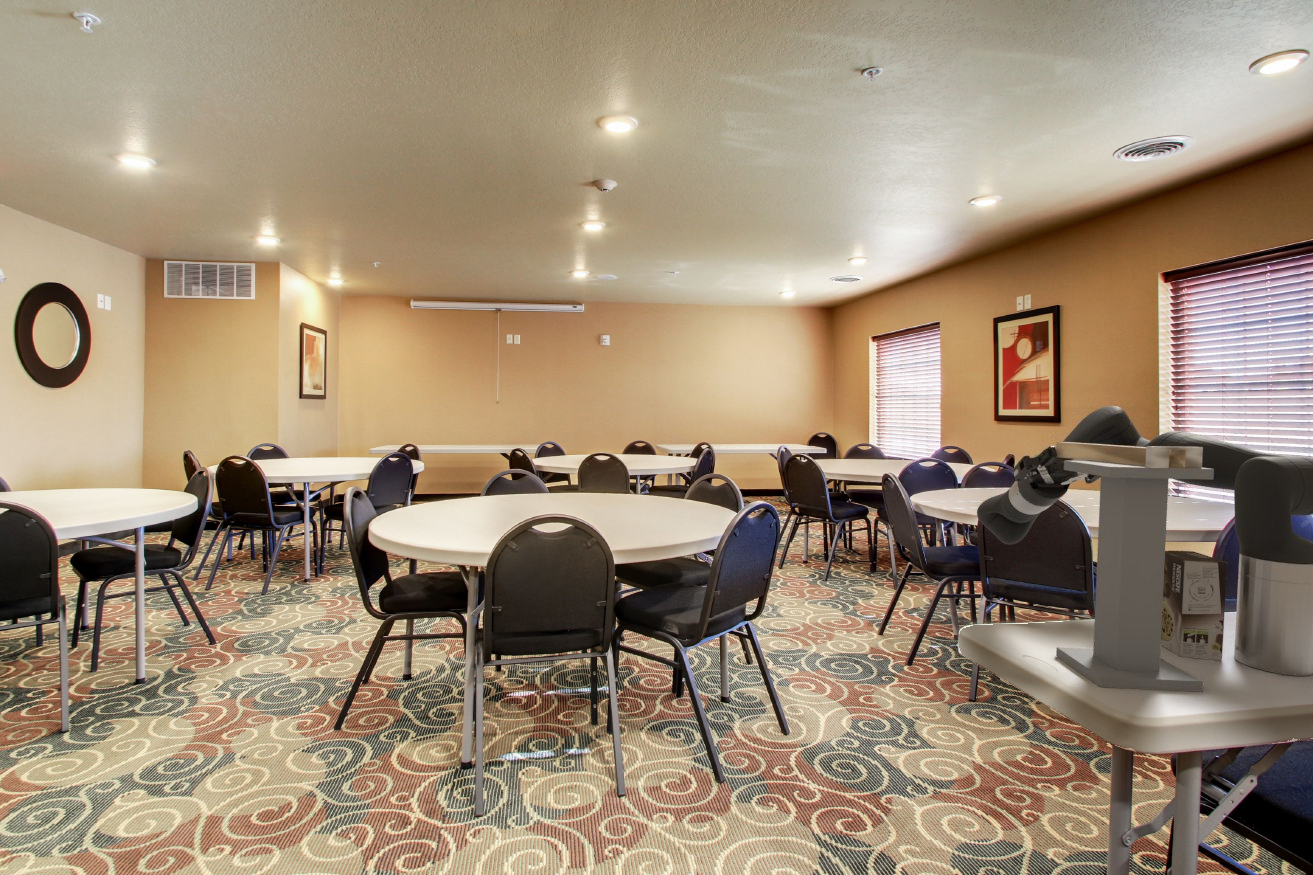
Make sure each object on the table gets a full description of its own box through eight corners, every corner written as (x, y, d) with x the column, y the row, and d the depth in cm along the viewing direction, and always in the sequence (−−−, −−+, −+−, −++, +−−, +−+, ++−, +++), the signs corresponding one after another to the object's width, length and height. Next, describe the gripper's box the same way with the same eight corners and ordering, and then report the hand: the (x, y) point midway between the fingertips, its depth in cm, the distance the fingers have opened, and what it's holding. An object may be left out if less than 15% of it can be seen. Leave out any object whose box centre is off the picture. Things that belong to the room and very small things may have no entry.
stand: (1146, 659, 106) (1155, 462, 104) (1202, 691, 94) (1213, 468, 92) (1056, 656, 107) (1064, 460, 105) (1100, 686, 95) (1109, 466, 93)
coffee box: (1224, 661, 106) (1229, 562, 105) (1179, 657, 107) (1184, 559, 106) (1190, 641, 115) (1195, 550, 114) (1149, 638, 116) (1153, 548, 115)
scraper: (1083, 457, 115) (1083, 440, 115) (1201, 468, 93) (1202, 447, 93) (1041, 456, 114) (1042, 439, 114) (1151, 467, 92) (1152, 446, 92)
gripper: (1080, 508, 125) (1129, 472, 110) (1002, 506, 126) (1041, 469, 111) (1071, 472, 128) (1117, 433, 114) (995, 470, 129) (1032, 431, 115)
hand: (1079, 451), depth 113 cm, fingers open, 8 cm apart
